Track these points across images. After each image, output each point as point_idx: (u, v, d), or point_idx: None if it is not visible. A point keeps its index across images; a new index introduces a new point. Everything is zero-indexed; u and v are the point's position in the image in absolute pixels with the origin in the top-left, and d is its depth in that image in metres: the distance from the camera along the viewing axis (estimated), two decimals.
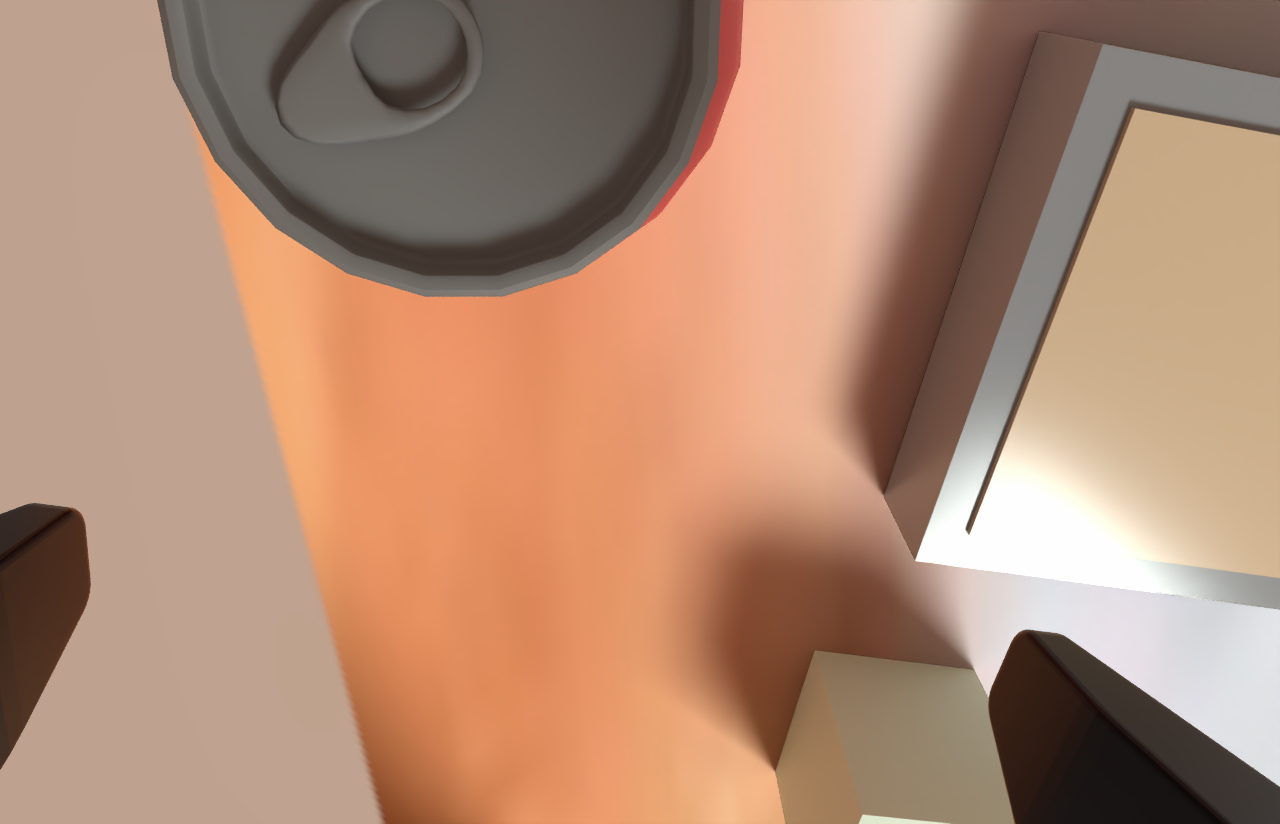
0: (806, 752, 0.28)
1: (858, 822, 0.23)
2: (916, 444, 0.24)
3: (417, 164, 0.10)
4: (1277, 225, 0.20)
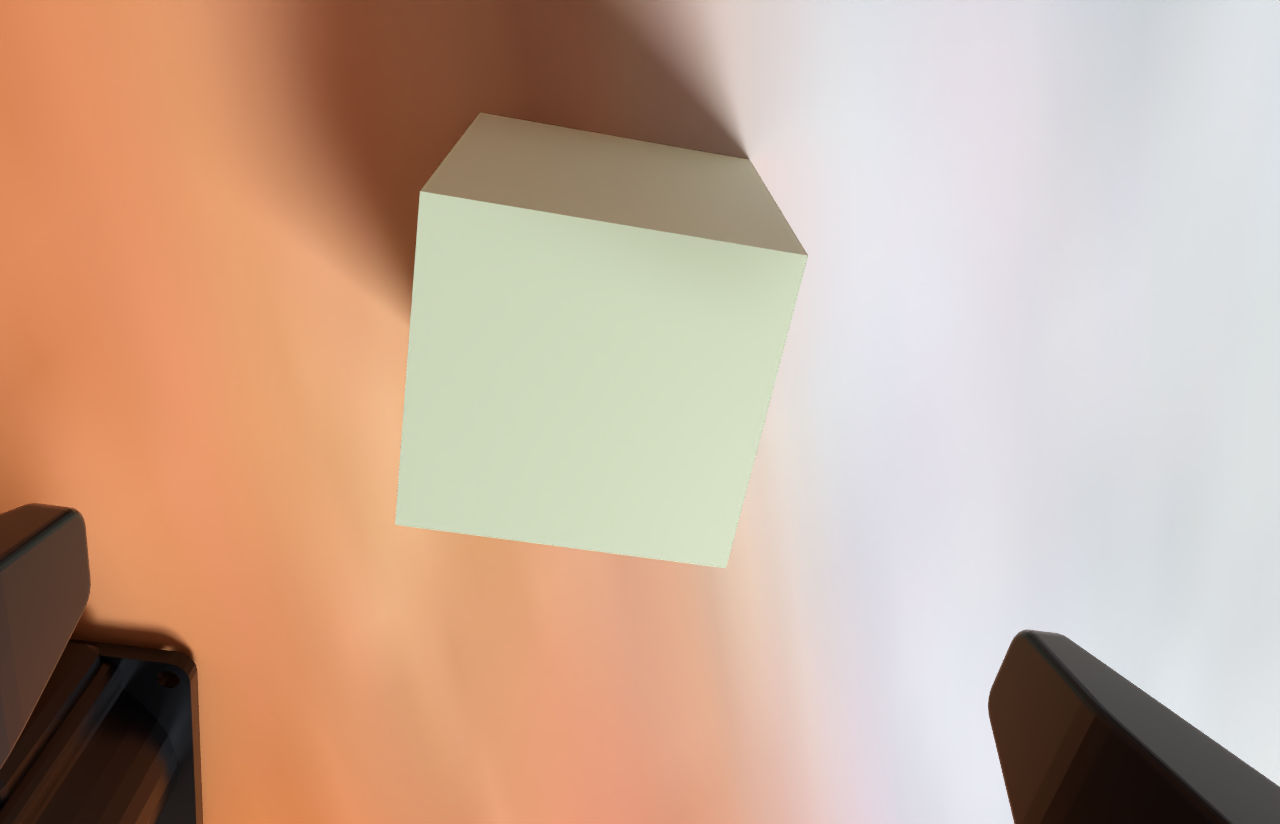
0: None
1: (418, 214, 0.12)
2: None
3: None
4: None
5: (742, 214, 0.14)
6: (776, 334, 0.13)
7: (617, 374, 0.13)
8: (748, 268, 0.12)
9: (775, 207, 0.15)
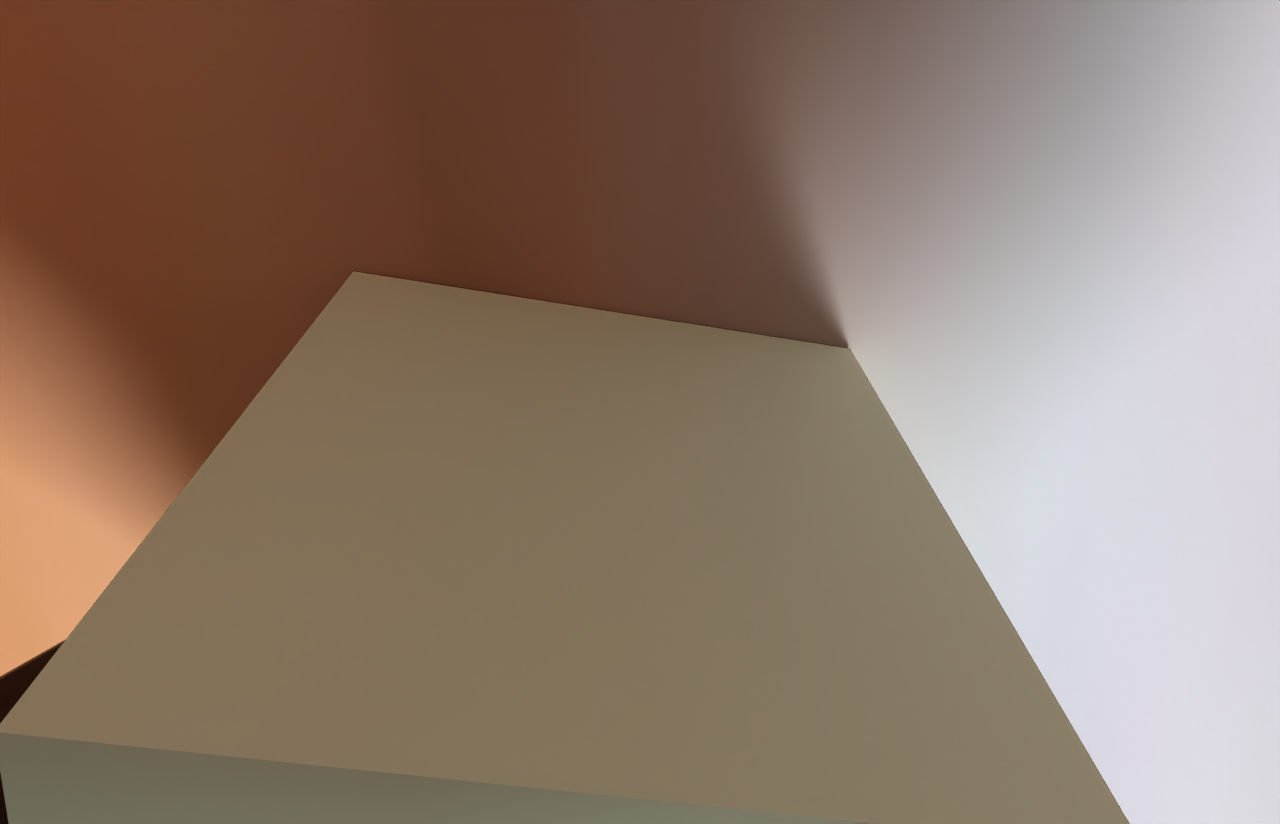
0: None
1: (6, 780, 0.04)
2: None
3: None
4: None
5: (905, 607, 0.06)
6: None
7: None
8: None
9: (960, 547, 0.07)
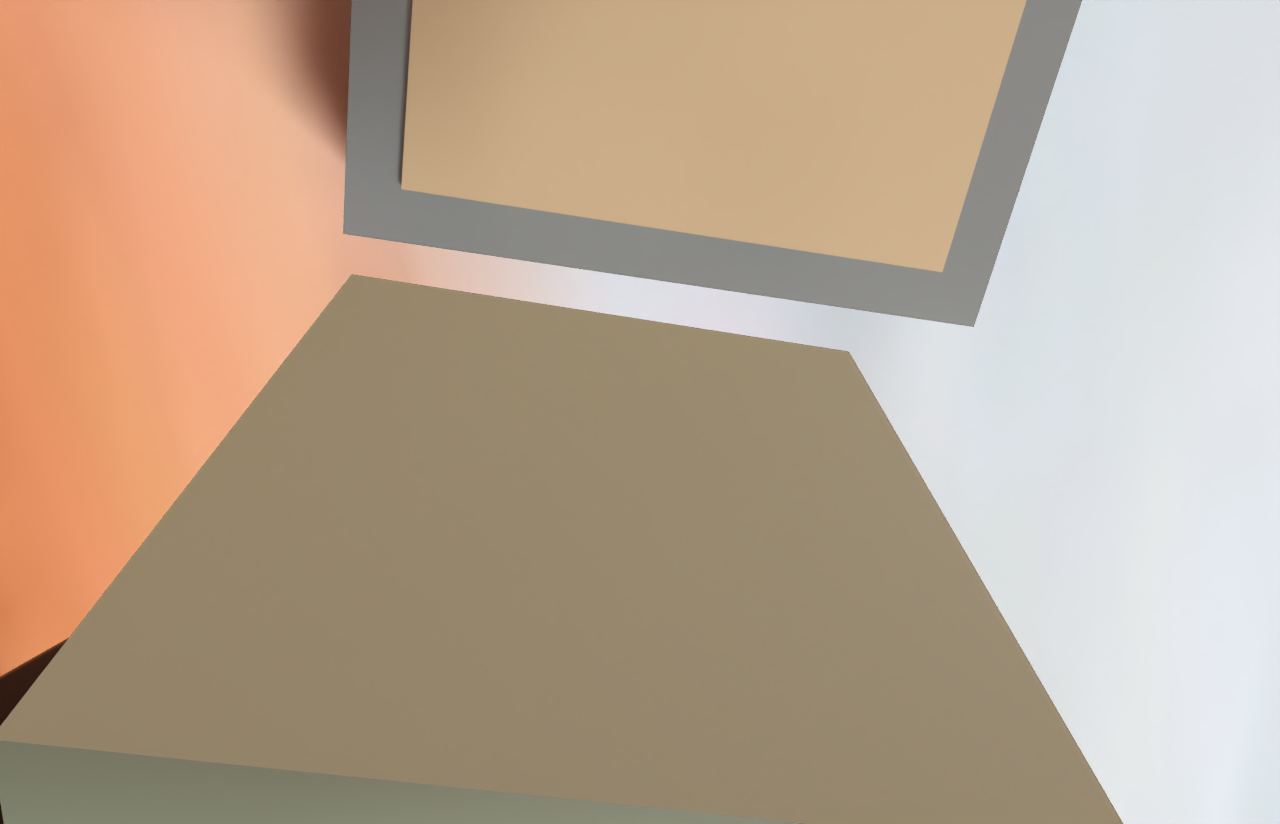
0: None
1: (3, 788, 0.04)
2: None
3: None
4: None
5: (903, 611, 0.06)
6: None
7: None
8: None
9: (958, 551, 0.07)
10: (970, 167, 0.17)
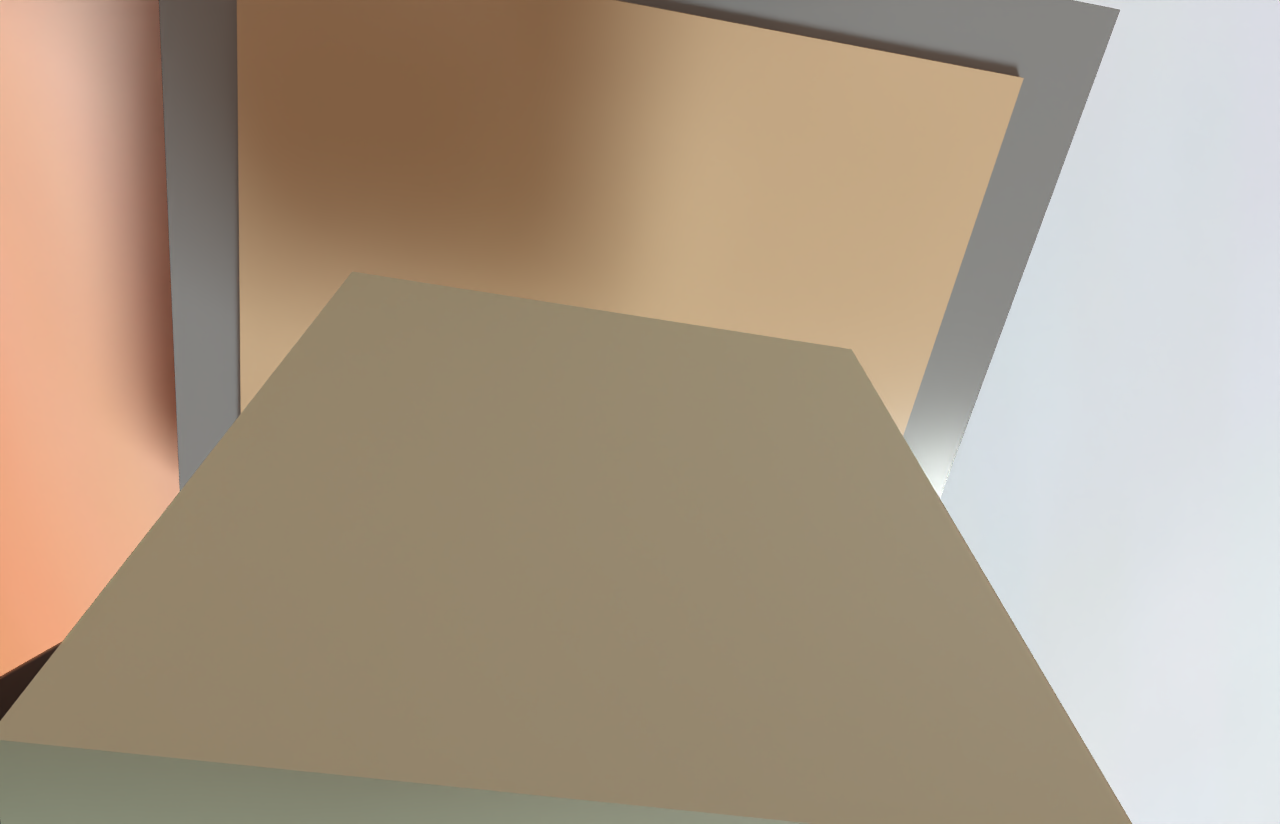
0: None
1: None
2: None
3: None
4: (539, 128, 0.13)
5: (908, 610, 0.06)
6: None
7: None
8: None
9: (963, 550, 0.06)
10: None
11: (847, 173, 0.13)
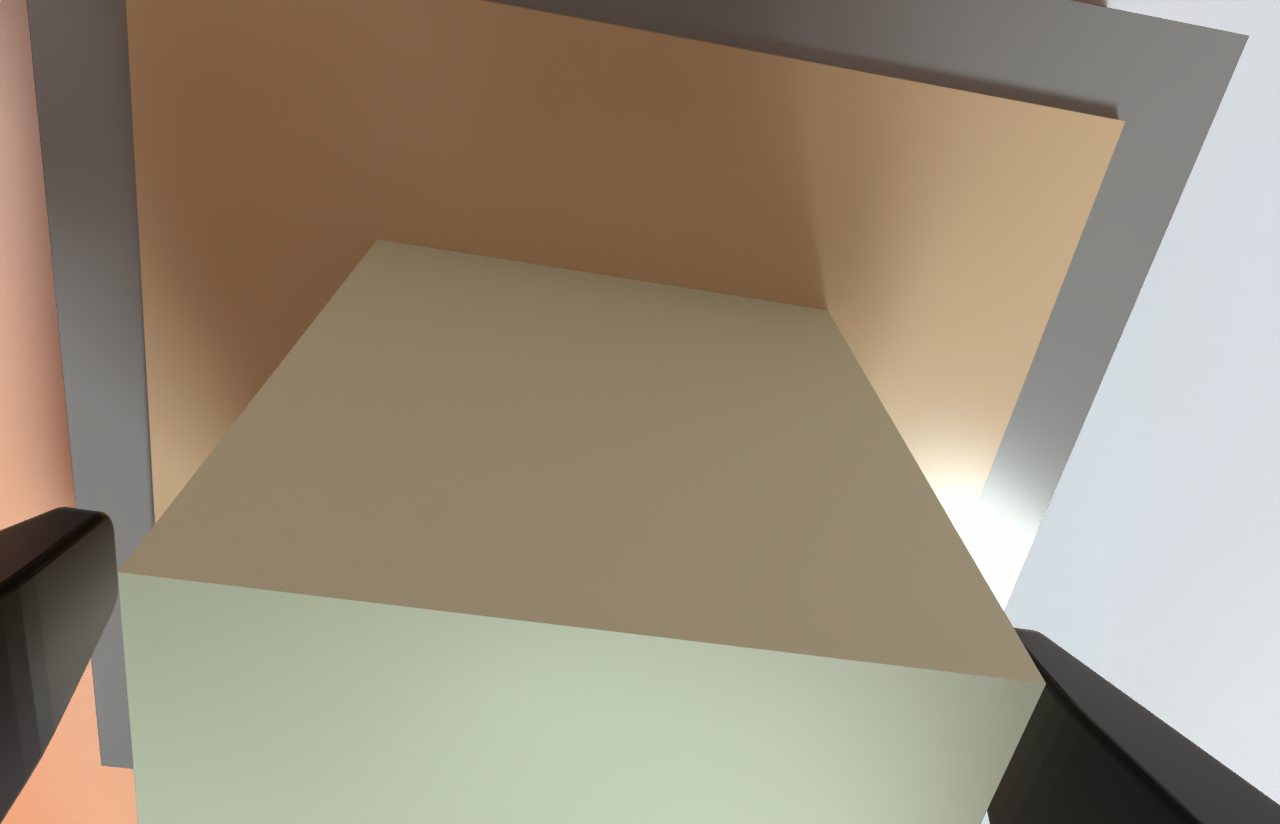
0: None
1: (124, 617, 0.05)
2: None
3: None
4: (514, 183, 0.10)
5: (861, 510, 0.07)
6: (957, 822, 0.06)
7: None
8: (908, 708, 0.05)
9: (913, 467, 0.07)
10: None
11: (902, 239, 0.10)
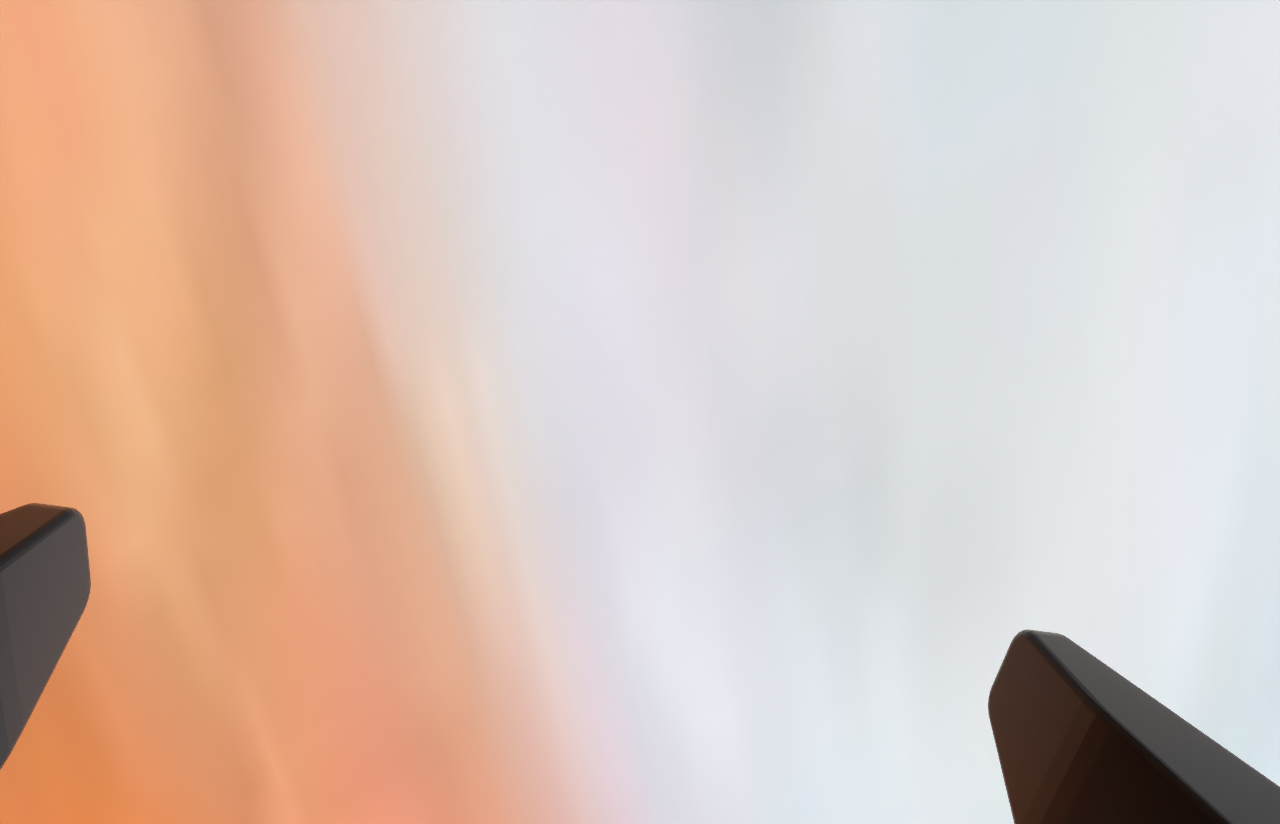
0: None
1: None
2: None
3: None
4: None
5: None
6: None
7: None
8: None
9: None
10: None
11: None
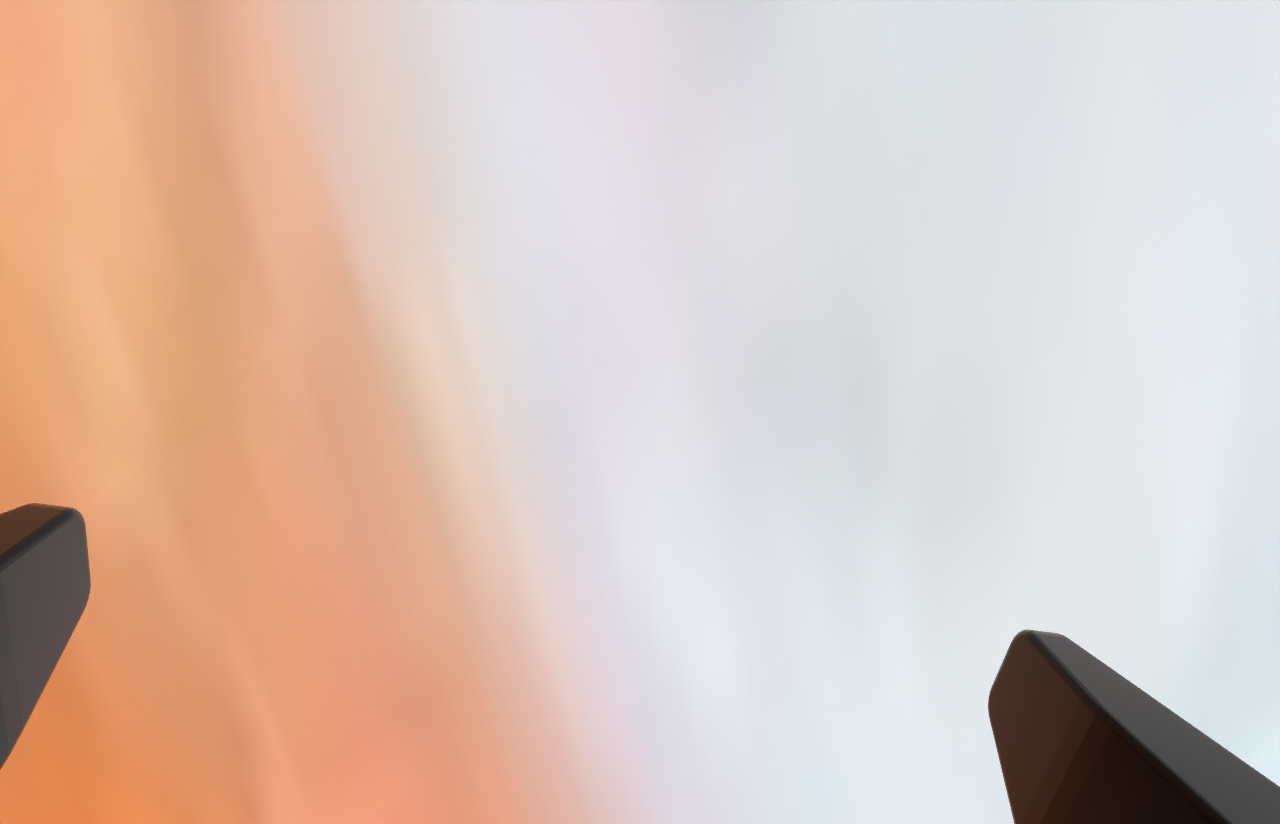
0: None
1: None
2: None
3: None
4: None
5: None
6: None
7: None
8: None
9: None
10: None
11: None
